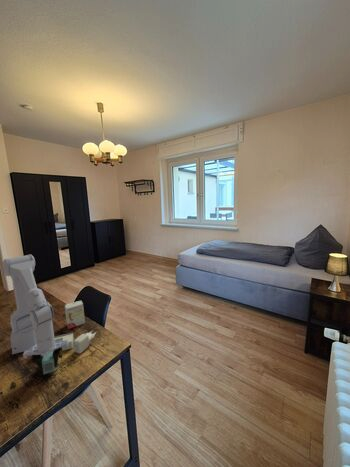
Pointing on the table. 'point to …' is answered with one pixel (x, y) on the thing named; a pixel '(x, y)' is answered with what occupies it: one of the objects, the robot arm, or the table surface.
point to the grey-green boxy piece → (48, 363)
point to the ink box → (74, 314)
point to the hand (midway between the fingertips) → (49, 367)
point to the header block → (66, 337)
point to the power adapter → (83, 342)
